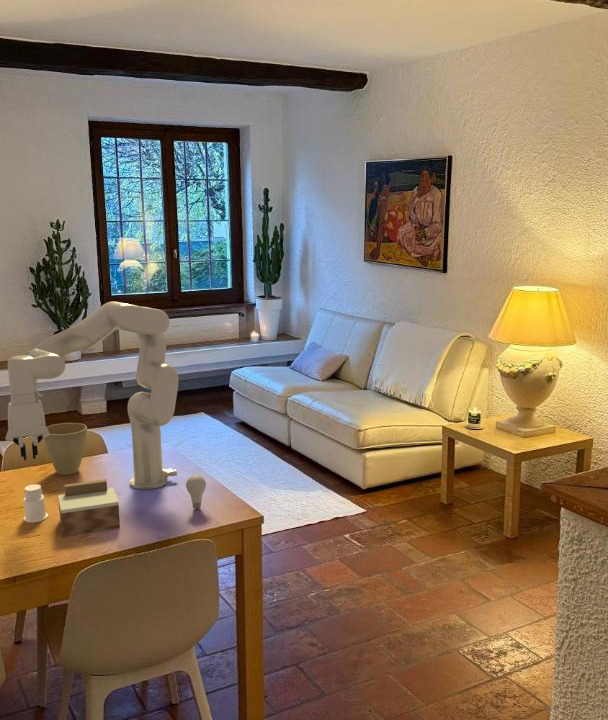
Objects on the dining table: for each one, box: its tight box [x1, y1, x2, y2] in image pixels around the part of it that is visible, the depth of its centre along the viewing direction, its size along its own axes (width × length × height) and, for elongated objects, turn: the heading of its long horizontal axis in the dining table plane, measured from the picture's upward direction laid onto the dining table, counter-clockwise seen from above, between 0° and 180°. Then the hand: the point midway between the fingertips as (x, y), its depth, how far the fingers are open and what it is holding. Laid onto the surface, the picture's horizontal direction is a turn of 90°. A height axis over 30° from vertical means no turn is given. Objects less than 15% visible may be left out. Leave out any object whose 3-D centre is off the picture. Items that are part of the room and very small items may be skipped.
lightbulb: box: [185, 474, 207, 510], centre depth 229 cm, size 6×6×11 cm
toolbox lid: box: [57, 478, 120, 513], centre depth 218 cm, size 16×12×4 cm
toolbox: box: [58, 503, 121, 538], centre depth 219 cm, size 16×12×7 cm
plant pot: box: [43, 422, 88, 476], centre depth 262 cm, size 15×15×16 cm
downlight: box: [23, 483, 49, 523], centre depth 223 cm, size 8×7×10 cm
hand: (29, 457), depth 220 cm, fingers closed
